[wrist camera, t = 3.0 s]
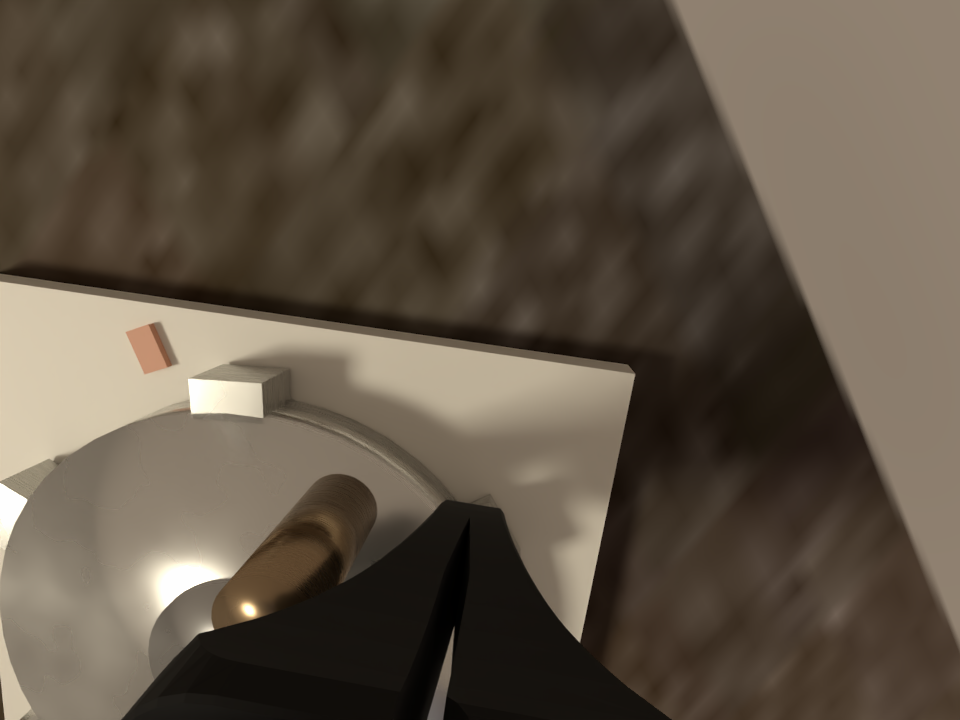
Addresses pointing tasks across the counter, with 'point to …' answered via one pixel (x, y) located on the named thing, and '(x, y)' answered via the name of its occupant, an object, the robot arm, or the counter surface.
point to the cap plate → (329, 408)
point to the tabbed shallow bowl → (193, 535)
